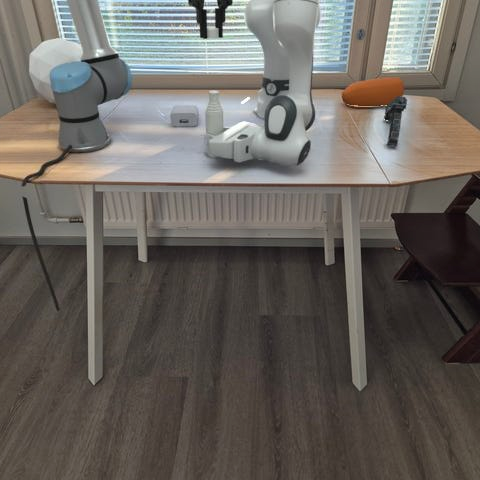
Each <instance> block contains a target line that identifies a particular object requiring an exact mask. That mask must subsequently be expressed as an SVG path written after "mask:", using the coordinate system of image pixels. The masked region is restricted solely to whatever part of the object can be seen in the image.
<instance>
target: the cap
mask: <svg viewBox="0 0 480 480" xmlns="http://www.w3.org/2000/svg"><path fill="white" fill-rule="evenodd" d="M207 39H220V38H219V28H215V26H214V27H212V26H211V27H209V26H207Z"/></svg>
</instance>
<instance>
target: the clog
mask: <svg viewBox="0 0 480 480" xmlns="http://www.w3.org/2000/svg"><path fill="white" fill-rule="evenodd" d="M404 86H405V85H404V81H403V79H402V78H400V77H391V76H390V77H389V76H388V77H378V78H372V79H366V80H359V81H355V82H353V83H351V84H350V85H348V86H347V87H346V88H345V89H344V90H342V92H341V99H342V101H343V102H344V101H345V102H344V103H345V105H347V104H349V105H358V106H381V105H388V104H389V103H390V102H391V101H392V100H393V99H394V98H396V97H397V96H403V97H404V91H405V87H404ZM349 105H348V106H349ZM350 107H351V108H355V109H371V108H373V107H354V106H350Z"/></svg>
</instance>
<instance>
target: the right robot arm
mask: <svg viewBox="0 0 480 480" xmlns="http://www.w3.org/2000/svg"><path fill="white" fill-rule="evenodd" d="M243 19H244V24H245V26H246V28H247V29H248V30H249V32H250V33H252V35H254V36H255V38H256V40H258V43H259V44H260V46H261V47H260V48H261V50H262V54H263V75H262V77H261V89H259V90H258V95H257V105H256V108H254V110H253V112H254V113H255V114H257V116H258V117H259V118H260V119H264V123H263V124H264V125H263V127H262V126H261V125H260V124H258V123H253V122H250V121H240V122H238V123H236V124H235V125H233V126H223V133H221V134H219V135H217V136H213V134H211V133H207V134H206V133H205V135H204V139H205V141H206V140H207V141H208V149H209V152H210V153H211V154H213V155H216V156H219V157H218V158H223V159H227V160H228V159H229V160H231V159H233V162H235V163H242V162H245V161H246V162H247V161H249V160H259V161H265V160H266V161H269V162H271V163H273V164H275V165H276V164H277V165H281V166H289V167H296V166H299V165H302V163H304V162H305V160H306V159H307V158H308V155H309V153H310V151H311V145H312V142H311V139H310V138H309V136H308V134H307V131H308V130H310V128H311V127H312V126H313V124H314V123H315V120H316V108H315V105H314V101H313V96H312V94H313V93H312V88H313V74H314V73H313V72H314V71H313V70H314V69H313V68H314V49H315V40H316V39H315V38H316V30H317V29H318V27H319V25H320V23H321V20H322V9H321V6H320V0H249V1H248V3H247V4H246V6H245V9H244V13H243ZM248 100H250V97H249V96H248V97H247V98H245V99H244V100H243V101H241V104H244V103H246V102H247V101H248ZM207 141H206V142H207Z"/></svg>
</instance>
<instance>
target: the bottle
mask: <svg viewBox="0 0 480 480" xmlns="http://www.w3.org/2000/svg"><path fill="white" fill-rule="evenodd" d="M219 94H220V91H219V90H215V89H213V90H209V91H208V99H209V100H208V103H207V105H206V108H205V112H204V113H205V135H206V134H207V133H211V134H213V136H217V135H219V134H221V133H223V127H224V110H223V107H222V105H221V102H220V97H219V96H220V95H219ZM205 141H206V156H207V157H210V158H215V159H216V158H220V157H219V156H216V155H213V154H211V153H210V152H209V149H208V141H207V140H205Z"/></svg>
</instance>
